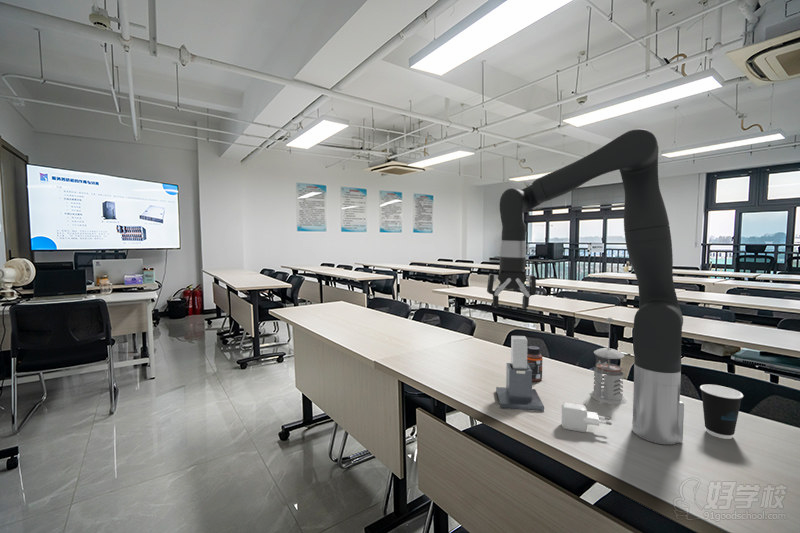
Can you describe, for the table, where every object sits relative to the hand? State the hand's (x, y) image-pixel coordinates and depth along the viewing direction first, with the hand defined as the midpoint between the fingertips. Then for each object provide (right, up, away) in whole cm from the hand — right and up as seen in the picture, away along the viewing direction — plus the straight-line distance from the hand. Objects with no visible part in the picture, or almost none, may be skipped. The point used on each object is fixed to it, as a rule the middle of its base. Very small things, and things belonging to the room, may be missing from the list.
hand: (510, 308), depth 109 cm
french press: (+30, -28, 0) cm, 41 cm away
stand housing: (+2, -28, -2) cm, 28 cm away
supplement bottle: (+13, -27, +16) cm, 34 cm away
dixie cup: (+45, -29, -21) cm, 58 cm away
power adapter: (+13, -29, -19) cm, 37 cm away
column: (+2, -26, -2) cm, 26 cm away
